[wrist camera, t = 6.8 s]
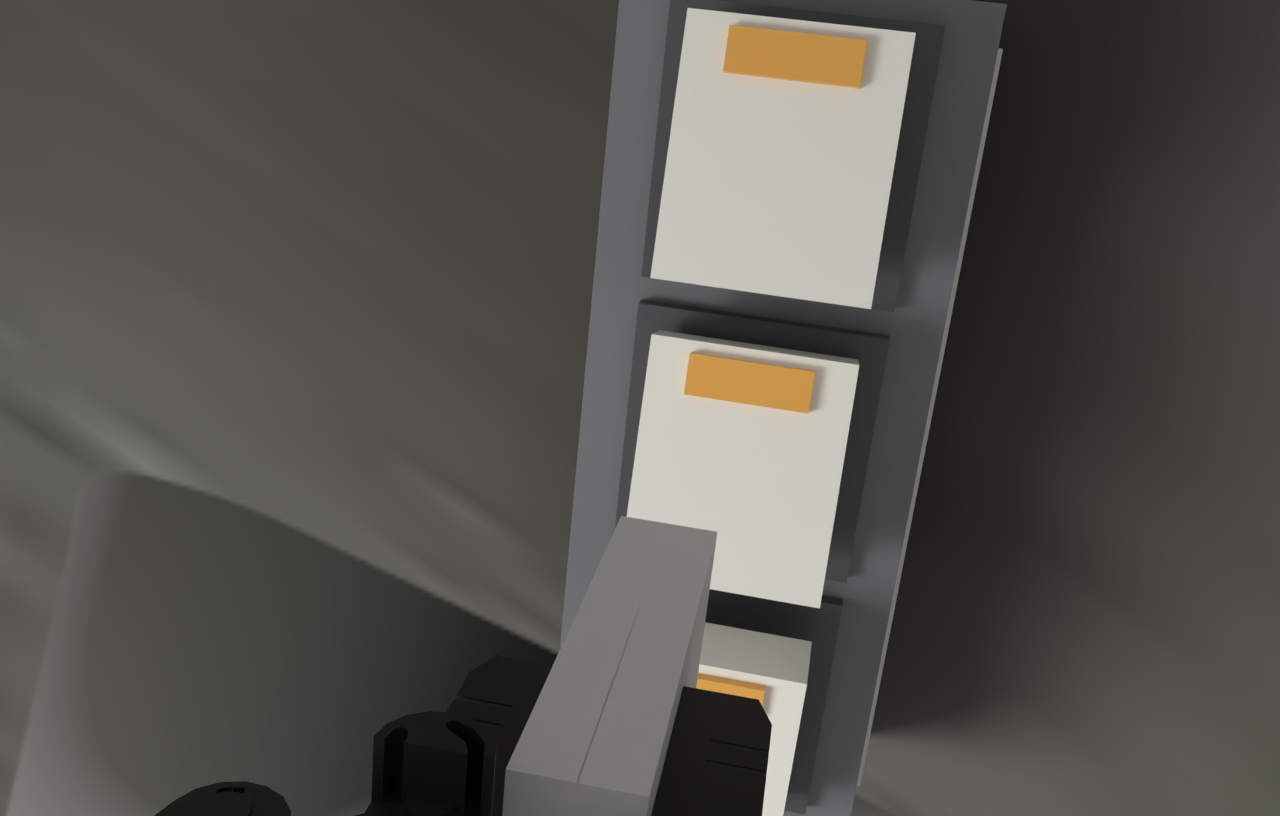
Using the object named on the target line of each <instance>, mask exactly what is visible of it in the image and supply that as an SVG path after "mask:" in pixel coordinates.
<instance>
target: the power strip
mask: <svg viewBox="0 0 1280 816" xmlns="http://www.w3.org/2000/svg"><path fill="white" fill-rule="evenodd" d="M1006 7H1007V4H1003V3H993V2H984V1H974V0H619V7H618V18H617V29H616V40H615V51H614V62H613V73H612V84H611V95H610V105H609V116H608V127H607V138H606V149H605V160H604V171H603V182H602V193H601V204H600V215H599V226H598V237H597V248H596V259H595V270H594V281H593V292H592V303H591V314H590V324H589V335H588V346H587V357H586V368H585V379H584V390H583V401H582V412H581V423H580V434H579V445H578V456H577V467H576V478H575V489H574V500H573V511H572V522H571V533H570V544H569V554H568V565H567V576H566V587H565V598H564V609H563V620H562V631H561V642H560V649H561V647H562V645H563V642H564V640H565V638H566V636H567V634H568V631H569V629H570V627H571V625H572V623H573V620H574V618H575V616H576V614H577V612H578V609H579V607H580V605H581V603H582V601H583V598H584V596H585V594H586V592H587V590H588V587H589V585H590V583H591V581H592V579H593V576H594V574H595V572H596V570H597V568H598V565H599V563H600V561H601V559H602V557H603V555H604V552H605V550H606V548H607V546H608V544H609V541H610V539H611V537H612V535H613V533H614V530H615V528H616V526H617V524H618V522H619V519H620V517H621V516H625V517H627V510H628V503H629V496H630V488H631V481H632V474H633V466H634V459H635V452H636V444H637V437H638V430H639V422H640V415H641V408H642V400H643V393H644V386H645V378H646V371H647V364H648V356H649V349H650V342H651V334H653V333H656V332H658V331H660V330H662V331H669V332H676V333H683V334H690V335H696V336H703V337H710V338H717V339H723V340H730V341H737V342H744V343H751V344H757V345H764V346H771V347H778V348H784V349H791V350H798V351H805V352H812V353H818V354H825V355H832V356H839V357H845V358H852V359H858V361H859V371H858V377H857V383H856V390H855V396H854V402H853V408H852V414H851V420H850V427H849V433H848V439H847V445H846V451H845V457H844V463H843V470H842V476H841V482H840V488H839V494H838V500H837V506H836V513H835V519H834V525H833V531H832V537H831V543H830V549H829V556H828V562H827V568H826V574H825V580H824V586H823V593H822V599H821V605H820V608H814V607H808V606H803V605H797V604H791V603H786V602H780V601H774V600H769V599H763V598H757V597H752V596H746V595H740V594H735V593H729V592H724V591H718V590H712V589H710V590H709V597H708V605H707V612H706V620H705V622H706V623H712V624H717V625H723V626H728V627H734V628H739V629H745V630H750V631H756V632H761V633H767V634H772V635H778V636H784V637H789V638H795V639H800V640H806V641H811V642H812V645H811V654H810V663H809V672H808V680H807V687H806V693H805V698H804V704H803V709H802V715H801V720H800V726H799V731H798V737H797V742H796V748H795V753H794V759H793V764H792V770H791V775H790V781H789V786H788V792H787V797H786V803H785V808H784V814H783V816H851V812H852V806H853V801H854V796H855V791H856V786H860V785H861V780H862V775H863V769H864V764H865V759H866V754H867V749H868V744H869V738H870V733H871V728H872V723H873V718H874V713H875V707H876V702H877V697H878V692H879V687H880V682H881V677H882V671H883V666H884V661H885V656H886V651H887V646H888V640H889V635H890V630H891V625H892V620H893V615H894V609H895V604H896V599H897V594H898V589H899V584H900V578H901V573H902V568H903V563H904V558H905V553H906V548H907V542H908V537H909V532H910V527H911V522H912V517H913V511H914V506H915V501H916V496H917V491H918V486H919V480H920V475H921V470H922V465H923V460H924V455H925V449H926V444H927V439H928V434H929V429H930V424H931V418H932V413H933V408H934V403H935V398H936V393H937V388H938V382H939V377H940V372H941V367H942V362H943V357H944V351H945V346H946V341H947V336H948V331H949V326H950V320H951V315H952V310H953V305H954V300H955V295H956V289H957V284H958V279H959V274H960V269H961V264H962V258H963V253H964V248H965V243H966V238H967V233H968V228H969V222H970V217H971V212H972V207H973V202H974V197H975V191H976V186H977V181H978V176H979V171H980V166H981V160H982V155H983V150H984V145H985V140H986V135H987V129H988V124H989V119H990V114H991V109H992V104H993V98H994V93H995V88H996V83H997V78H998V73H999V68H1000V62H1001V57H1002V52H1003V49H1000V48H999V43H1000V38H1001V33H1002V27H1003V22H1004V17H1005V12H1006ZM687 8H694V9H703V10H712V11H721V12H731V13H740V14H749V15H758V16H767V17H776V18H785V19H794V20H804V21H813V22H822V23H831V24H840V25H849V26H858V27H867V28H876V29H886V30H895V31H904V32H913V33H916V35H915V41H914V48H913V54H912V60H911V66H910V72H909V78H908V85H907V91H906V97H905V103H904V109H903V115H902V122H901V128H900V134H899V140H898V146H897V152H896V159H895V165H894V171H893V177H892V183H891V189H890V196H889V202H888V208H887V214H886V220H885V226H884V233H883V239H882V245H881V251H880V257H879V263H878V270H877V276H876V282H875V288H874V294H873V300H872V307H871V309H866V308H859V307H852V306H845V305H837V304H830V303H823V302H816V301H809V300H802V299H795V298H788V297H781V296H774V295H767V294H760V293H753V292H746V291H739V290H732V289H725V288H717V287H710V286H703V285H696V284H689V283H682V282H675V281H668V280H661V279H654V278H650V276H651V269H652V262H653V254H654V247H655V240H656V233H657V225H658V218H659V211H660V204H661V196H662V189H663V182H664V175H665V168H666V160H667V153H668V146H669V139H670V131H671V124H672V117H673V110H674V102H675V95H676V88H677V81H678V73H679V66H680V59H681V52H682V45H683V37H684V30H685V23H686V16H687Z"/></svg>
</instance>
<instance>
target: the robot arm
mask: <svg viewBox="0 0 1280 816" xmlns="http://www.w3.org/2000/svg"><path fill="white" fill-rule="evenodd" d="M716 538H717V532H716V531H710V530H704V529H698V528H692V527H686V526H680V525H673V524H667V523H661V522H655V521H649V520H643V519H637V518H631V517H625V516H621V517H620V519H619V522H618V524H617V526H616V528H615V530H614V533H613V535H612V537H611V539H610V541H609V544H608V546H607V548H606V550H605V552H604V555H603V557H602V559H601V561H600V563H599V565H598V568H597V570H596V572H595V574H594V576H593V579H592V581H591V583H590V585H589V587H588V590H587V592H586V594H585V596H584V598H583V601H582V603H581V605H580V607H579V609H578V612H577V614H576V616H575V618H574V620H573V623H572V625H571V627H570V629H569V631H568V634H567V636H566V638H565V640H564V642H563V645H562V647H561V649H560V651H559V653H558V655H557V658H556V660H555V662H554V664H553V665H549V664H543V663H538V662H532V661H527V660H521V659H516V658H510V657H505V656H499V655H495V656H494V657H492V658H491V659H489V660H488V661H486V662H485V663H483V664H481V665H480V666H478V667H477V668H475V669H474V670H472V671H471V672H469V674H468V676H467V677H466V679H465V681H464V683H463V685H462V686H461V688H460V690H459V691H458V693H457V695H456V699H455V700H453V702H452V704H451V705H450V707H449V709H448V710H447V712H446V713H444V712H431V711H430V712H423V713H417V714H411V715H406V716H403V717H402V718H399V719H397V720H395V721H392V722H390V723H388V724H386V725H385V726H384V727H383V728H382V729H381V730H380V731H379V732H378V733H377V734H376V735H375V736H374V743H373V744H374V745H373V774H372V801H371V803H370V805H369V806H368V808H367V810H366V812H365V813H363V814H360V815H356V816H762V811H763V802H764V793H765V784H766V774H767V766H768V757H769V748H770V739H771V730H772V724H771V722H770V720H769V718H768V716H767V714H766V712H765V711H764V709H763V707H762V705H761V703H760V701H759V700H758V699H753V698H747V697H742V696H736V695H730V694H725V693H719V692H714V691H708V690H703V689H697V688H696V686H697V679H698V671H699V664H700V656H701V649H702V642H703V634H704V627H705V620H706V612H707V605H708V597H709V590H710V583H711V575H712V568H713V561H714V553H715V546H716ZM155 816H291V810H290V808H289V807H288V805H287V803H286V801H285V799H284V797H283V796H281V795H280V794H278V793H277V792H275V791H273V790H272V789H270V788H269V787H267V786H263V785H258V784H254V783H249V782H220V783H216V784H212V785H208V786H205V787H201V788H197V789H195V790H193V791H191V792H189V793H187V794H185V795H184V796H182V797H180V798H178V799H176V800H175V801H173V802H172V803H171V804H169V805H168V806H167V807H165V808H164V809H163V810H161V811H160V812H159V813H157V814H156V815H155Z"/></svg>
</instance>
